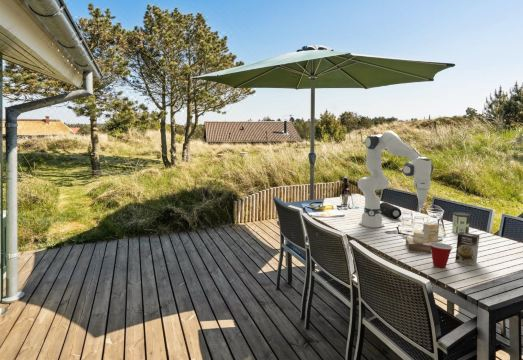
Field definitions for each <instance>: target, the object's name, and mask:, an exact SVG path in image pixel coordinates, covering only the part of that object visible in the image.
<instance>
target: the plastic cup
mask: <svg viewBox="0 0 523 360" xmlns="http://www.w3.org/2000/svg"><path fill="white" fill-rule="evenodd" d="M430 246H431V259H432V265H433V266H434V267H435V268H437V269H445V268H446V267H447V265H448V264H447V263H448V261H449V257H450V254H451V251H452V250H453V248H454V246H452V245H450V244H447V243H443V242H438V243H436V242H432V243H430Z"/></svg>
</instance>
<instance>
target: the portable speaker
mask: <svg viewBox="0 0 523 360" xmlns="http://www.w3.org/2000/svg"><path fill="white" fill-rule="evenodd" d="M380 213H382V214H384V215H386V216H387V217H389V218H391V219H395V220H396V219H400V218H401V216H402V213H403V212H402V211H401V209H400V208H399V207H398V206H395V205H393V204H391V203H388V202H386V201H385V202H380Z"/></svg>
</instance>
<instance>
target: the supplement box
mask: <svg viewBox="0 0 523 360" xmlns="http://www.w3.org/2000/svg"><path fill="white" fill-rule="evenodd" d="M422 227H423V228H422V231H423V233H424V238H423V239H427V240H428V242H429V243H432V242H436V243H439V242H438V241H439V229H440V223H437V222H427V223H426V222H425V223H423V226H422Z"/></svg>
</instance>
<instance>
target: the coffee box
mask: <svg viewBox="0 0 523 360" xmlns="http://www.w3.org/2000/svg"><path fill="white" fill-rule="evenodd" d="M456 240H457V241H456V249H455V250H456V252H455V262H456V263H461V264H463V265H469V266H472V267H475V266H476V265H477V261H478V250H479V242H480V235H479V234H475V233H470V232H469V233H465V232H459V233H458V234H457V239H456Z"/></svg>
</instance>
